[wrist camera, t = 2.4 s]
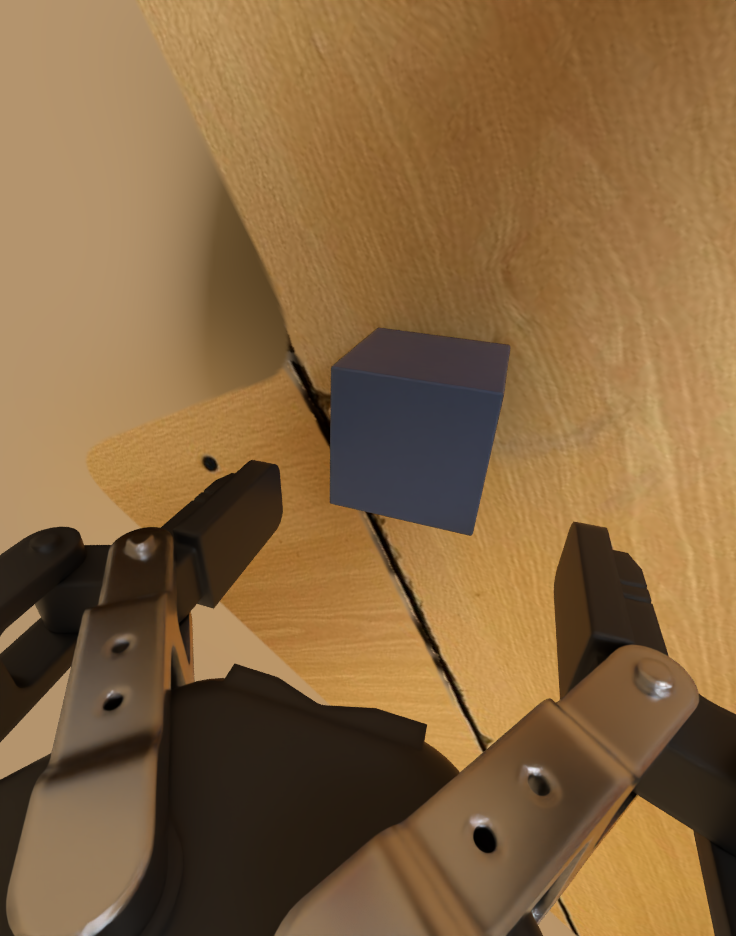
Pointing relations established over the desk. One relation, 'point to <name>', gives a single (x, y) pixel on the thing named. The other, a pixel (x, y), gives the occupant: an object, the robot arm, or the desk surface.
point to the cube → (415, 426)
